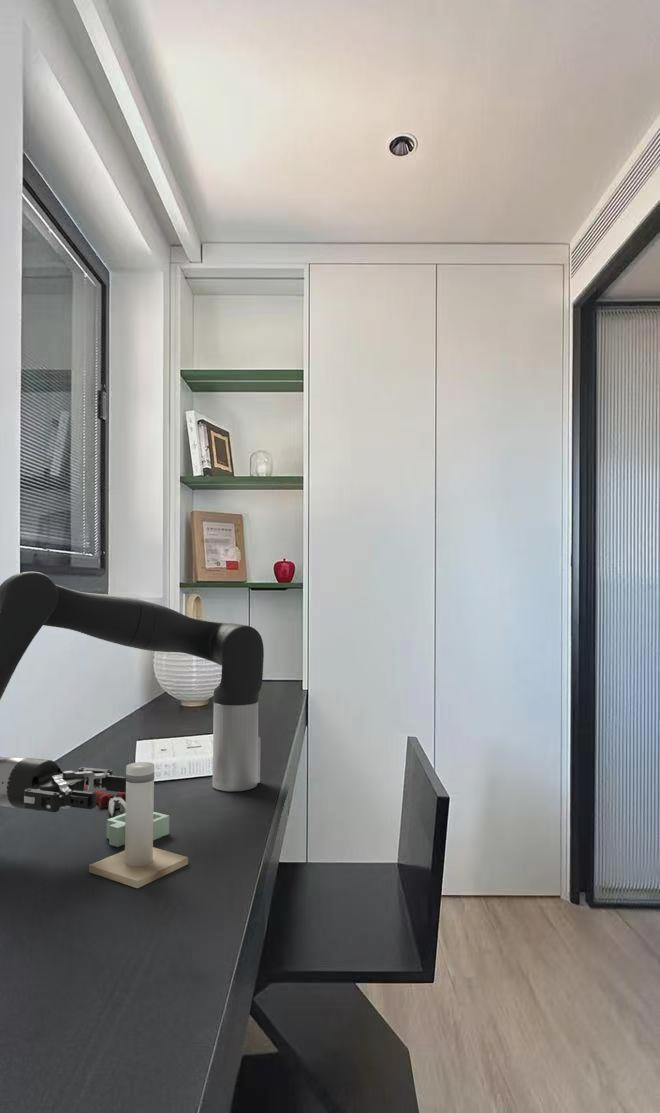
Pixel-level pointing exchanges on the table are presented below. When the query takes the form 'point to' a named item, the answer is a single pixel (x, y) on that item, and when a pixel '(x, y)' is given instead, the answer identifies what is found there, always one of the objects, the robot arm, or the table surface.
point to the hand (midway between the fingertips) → (112, 792)
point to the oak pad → (138, 868)
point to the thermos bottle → (139, 814)
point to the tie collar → (118, 828)
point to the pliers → (111, 801)
